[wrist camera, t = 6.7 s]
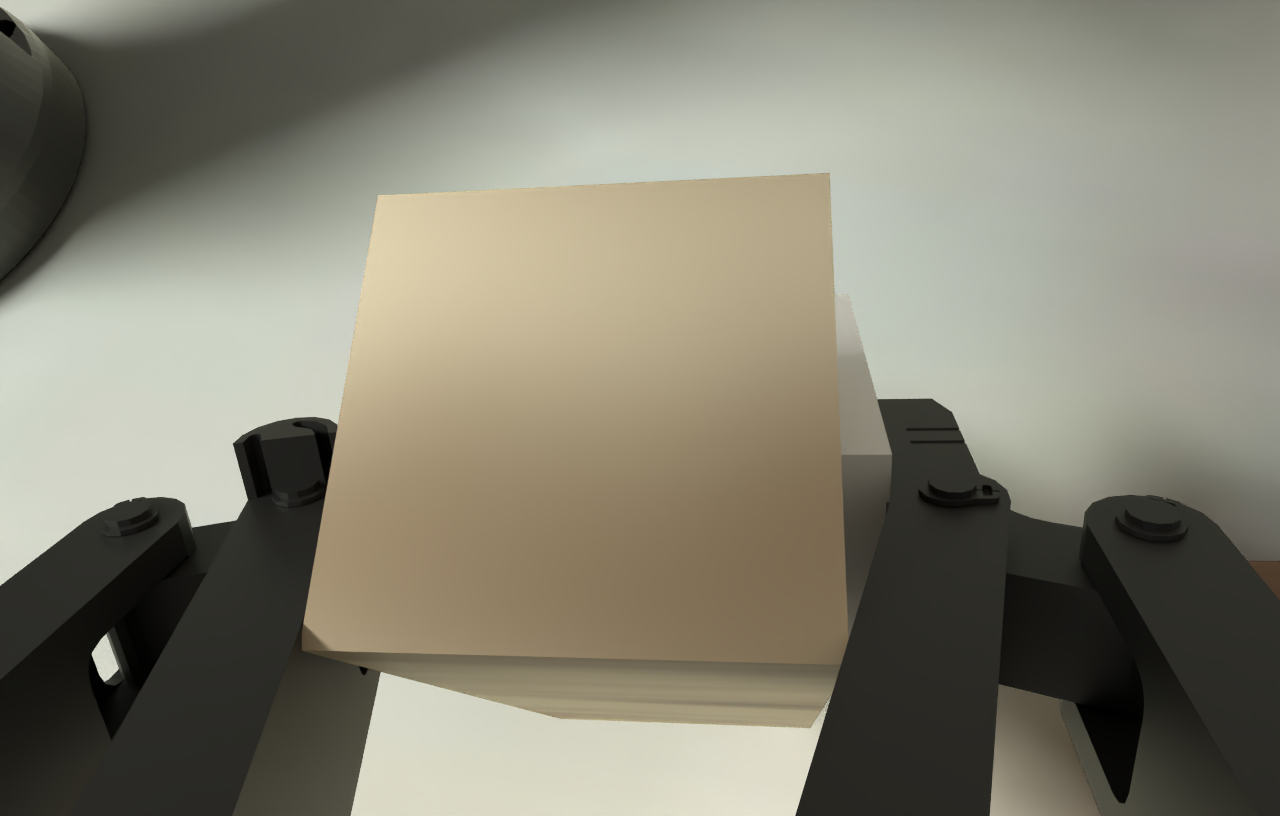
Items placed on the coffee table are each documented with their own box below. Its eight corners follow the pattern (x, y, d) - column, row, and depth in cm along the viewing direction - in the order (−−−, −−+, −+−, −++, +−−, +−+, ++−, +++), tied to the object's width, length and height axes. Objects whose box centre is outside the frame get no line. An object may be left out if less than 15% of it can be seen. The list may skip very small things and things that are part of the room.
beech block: (576, 482, 20) (377, 195, 10) (804, 482, 20) (828, 173, 10) (560, 718, 19) (298, 650, 8) (810, 727, 18) (849, 664, 8)
